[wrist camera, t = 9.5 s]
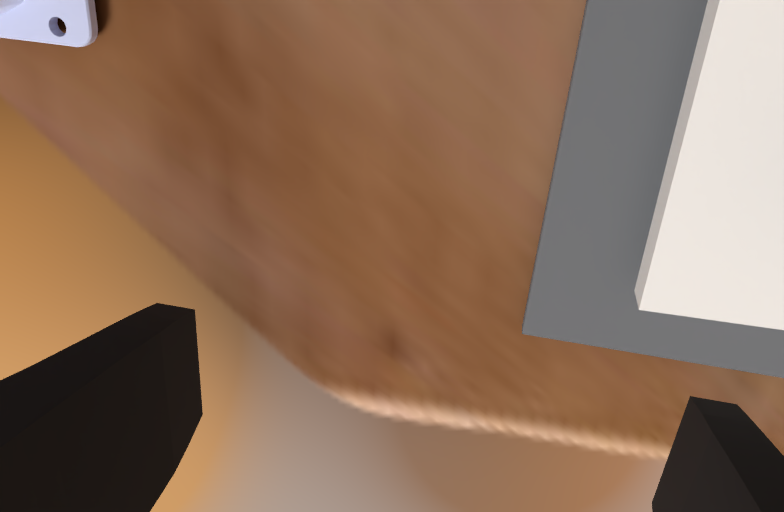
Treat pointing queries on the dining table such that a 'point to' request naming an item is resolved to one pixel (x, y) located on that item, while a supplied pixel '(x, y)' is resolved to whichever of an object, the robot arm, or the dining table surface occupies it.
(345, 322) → the dining table surface
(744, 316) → the lid
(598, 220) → the mat
